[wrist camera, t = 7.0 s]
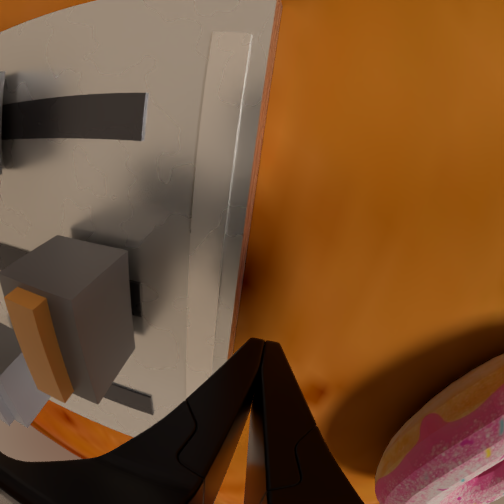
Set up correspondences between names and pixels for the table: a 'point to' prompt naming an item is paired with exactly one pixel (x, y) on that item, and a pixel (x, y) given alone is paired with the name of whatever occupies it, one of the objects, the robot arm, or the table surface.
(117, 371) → the breaker
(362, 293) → the table surface
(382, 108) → the table surface
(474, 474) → the donut
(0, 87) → the block
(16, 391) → the breaker
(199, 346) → the panel
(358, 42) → the table surface
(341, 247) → the table surface
